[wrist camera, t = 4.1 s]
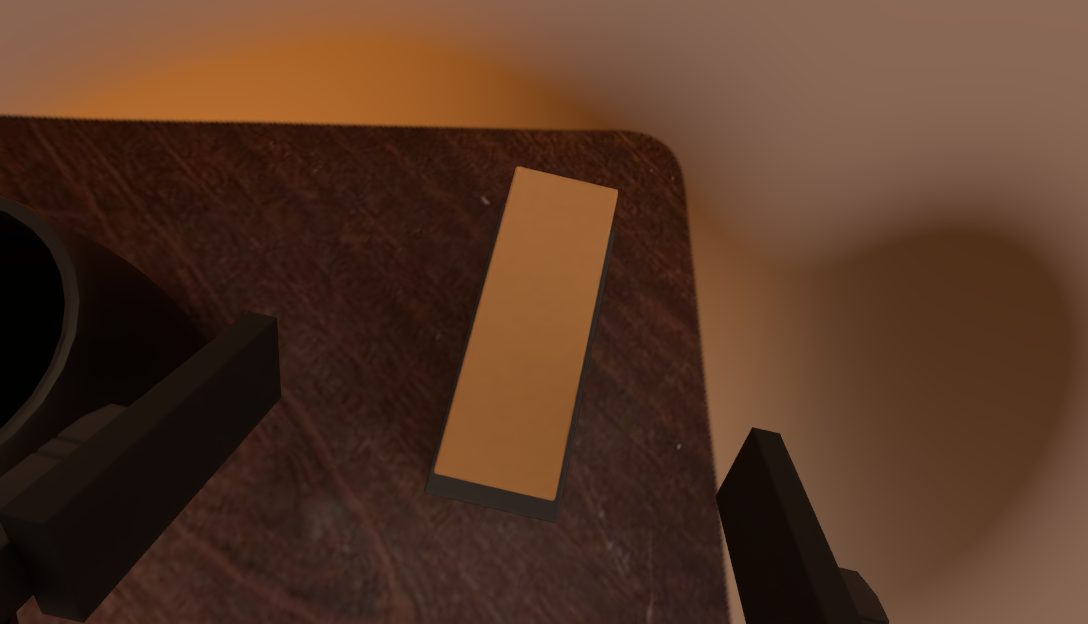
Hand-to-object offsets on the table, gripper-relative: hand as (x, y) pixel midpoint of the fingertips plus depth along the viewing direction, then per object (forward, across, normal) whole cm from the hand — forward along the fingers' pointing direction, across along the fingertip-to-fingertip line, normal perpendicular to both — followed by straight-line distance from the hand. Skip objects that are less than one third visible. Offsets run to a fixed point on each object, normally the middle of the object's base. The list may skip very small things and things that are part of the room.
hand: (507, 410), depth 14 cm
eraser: (+8, 0, -4) cm, 9 cm away
